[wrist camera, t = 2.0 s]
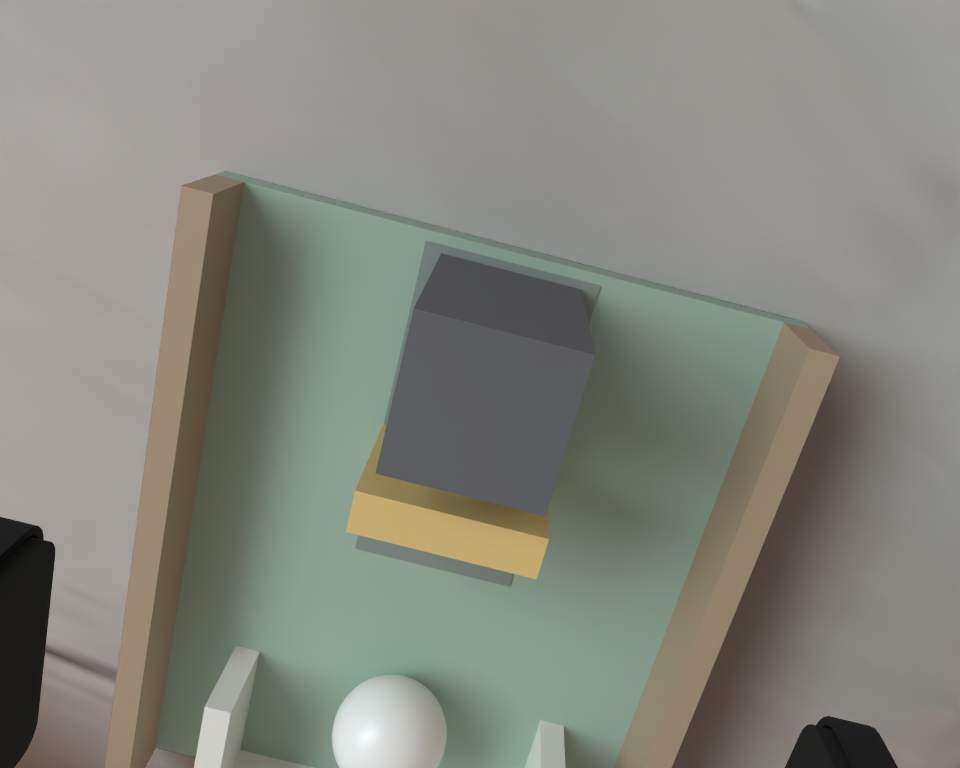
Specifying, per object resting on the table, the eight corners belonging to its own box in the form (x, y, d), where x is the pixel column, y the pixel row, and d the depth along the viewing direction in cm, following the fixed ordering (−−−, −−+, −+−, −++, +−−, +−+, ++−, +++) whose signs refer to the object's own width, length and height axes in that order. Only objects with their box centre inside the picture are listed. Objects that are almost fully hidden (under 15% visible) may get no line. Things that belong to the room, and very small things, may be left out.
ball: (428, 832, 27) (432, 776, 30) (459, 715, 26) (459, 673, 30) (310, 803, 26) (328, 751, 30) (340, 686, 26) (354, 647, 30)
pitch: (803, 321, 26) (840, 356, 23) (602, 837, 32) (609, 918, 29) (225, 171, 25) (181, 185, 22) (142, 726, 32) (100, 797, 29)
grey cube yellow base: (598, 294, 25) (618, 361, 19) (536, 500, 27) (536, 615, 21) (423, 248, 25) (390, 302, 19) (374, 460, 27) (332, 564, 21)
